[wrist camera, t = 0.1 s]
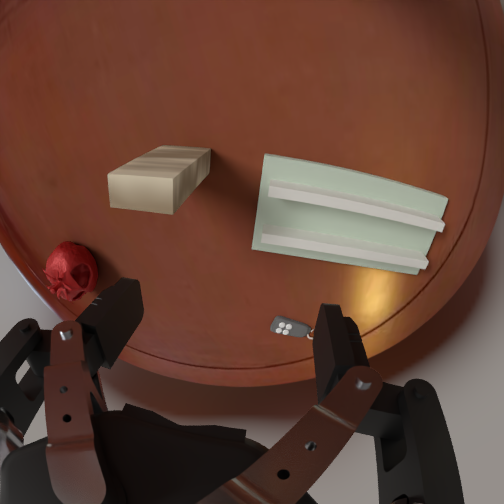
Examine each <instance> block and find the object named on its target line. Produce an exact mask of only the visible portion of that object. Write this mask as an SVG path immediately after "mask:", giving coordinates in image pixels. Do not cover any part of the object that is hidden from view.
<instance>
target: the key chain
mask: <svg viewBox="0 0 504 504" xmlns="http://www.w3.org/2000/svg"><path fill="white" fill-rule="evenodd" d="M270 329H271V331H273V332H275V333H280V334H284V335H290V336H295V337H304V336H307V337H308V338H309V339H313V338H311V337H309V332H310V331H311V332H312V331H313V330H314V329H313V330H311V327H308V325H307V324H305V323H302V322H298V321H295V320H292V319H289V318H286V317H283V316H277V317H275V319H274V321H273V323H272V325H271V328H270Z"/></svg>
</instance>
